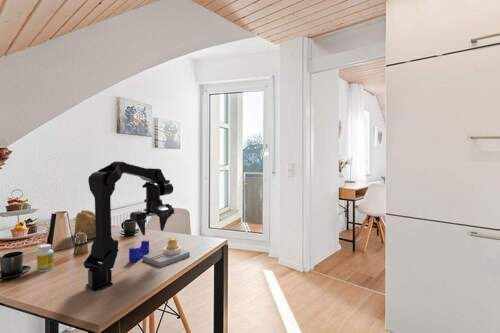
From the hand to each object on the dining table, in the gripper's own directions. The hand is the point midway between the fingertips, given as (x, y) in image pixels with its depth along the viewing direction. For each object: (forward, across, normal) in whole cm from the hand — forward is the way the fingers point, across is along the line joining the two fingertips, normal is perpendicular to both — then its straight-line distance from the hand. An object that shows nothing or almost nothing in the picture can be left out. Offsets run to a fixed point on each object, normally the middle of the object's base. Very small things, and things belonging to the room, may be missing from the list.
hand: (153, 232), depth 123 cm
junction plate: (+12, +5, -3) cm, 13 cm away
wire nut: (+10, +8, -3) cm, 13 cm away
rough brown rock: (+12, 0, +56) cm, 57 cm away
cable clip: (+12, -2, +8) cm, 15 cm away
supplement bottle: (+12, -32, +25) cm, 42 cm away
